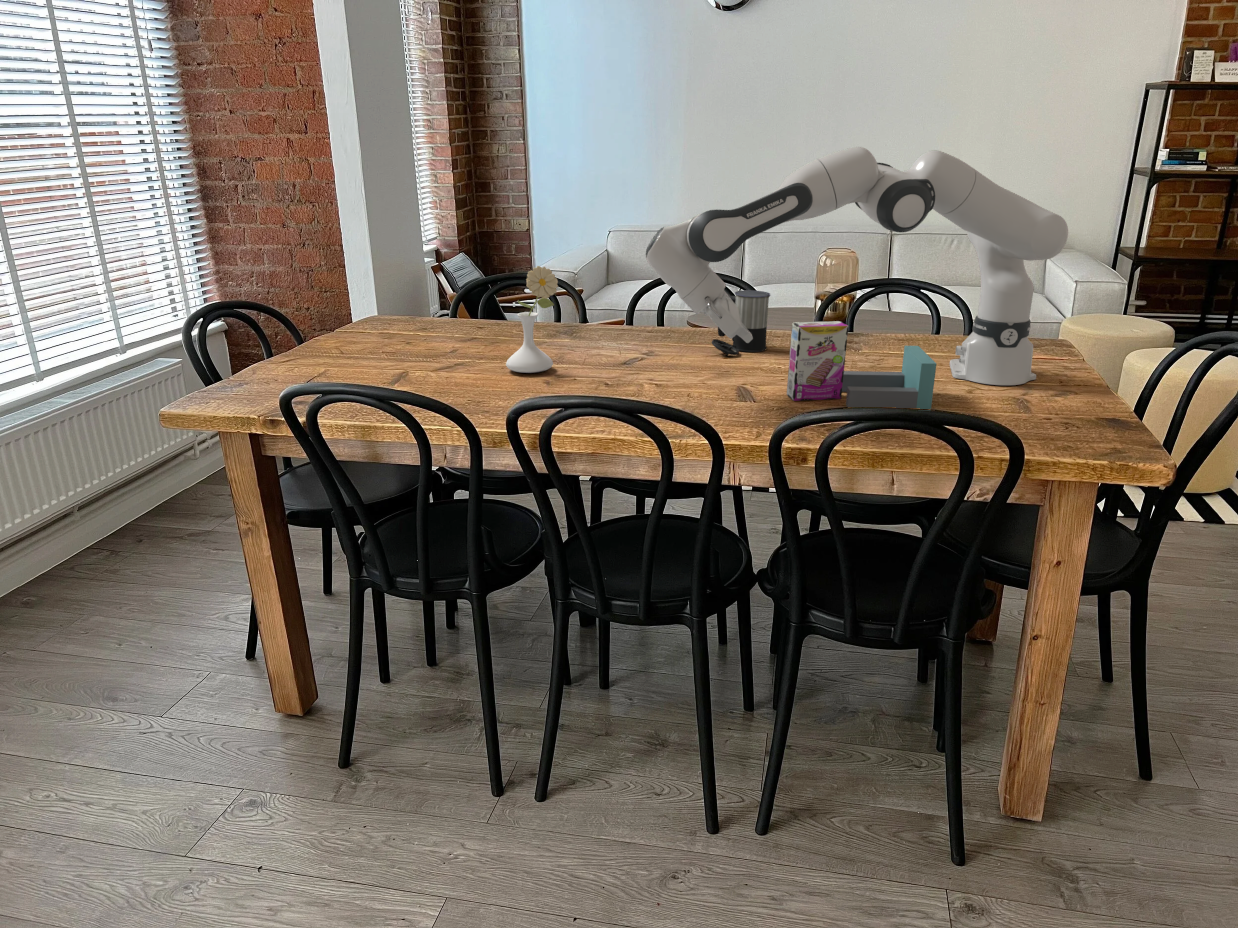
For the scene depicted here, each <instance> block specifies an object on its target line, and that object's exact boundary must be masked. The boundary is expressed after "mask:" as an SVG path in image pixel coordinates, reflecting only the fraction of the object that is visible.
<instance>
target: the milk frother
mask: <svg viewBox="0 0 1238 928" xmlns="http://www.w3.org/2000/svg"><path fill="white" fill-rule="evenodd" d="M734 294H735V295H728V296H729V297H730V298H731V299H732V301H733V302H734V303H735V305H736V306H737V308H738V309H739V313H740V318H741V322H742V323H743V324H744V326H745V327H746V328H747V330H748V331H749V332H750V333H751V334H752V337H753V339H752V340H751V341H750V342H749V343H746V342H745V341H744V340H743V339H742V338H741V337H739V336H738V335H737V334H736V335H735V336H734V337H733V338H731V341H732V344H730V343H728V342H726V341H723V340H720V339H712V341H711V344H712V346H713V347H714V348H715V349H717V350H718V351H721V352H722V353H723V354H725V356H726V357H727V356H729V355H731V356H733V355H734V356H737V355H738V354H739V352H745V353H757V352H758V353H759V352H764V351H766V350H767V328H768V327H767V326H768V318H769V317H768V315H769V314H768V313H769V304H770V303H769V301H770V297H771V293H770V292H768V291H761V290H753V289H752V290H751V289H750V290H749V289H748V290H745V289H743V290H738V291H735V292H734ZM717 335H718V336H719V337H722V338H723V337H725V336H726V335H725V334H724V333H723V332H722V330H721V329H720V328H719V327H718V326H717Z"/></svg>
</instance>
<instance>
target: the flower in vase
mask: <svg viewBox="0 0 1238 928" xmlns="http://www.w3.org/2000/svg"><path fill="white" fill-rule="evenodd" d="M525 280H526V288H528V290H529V292H531V295H533V296H535V297H536V299H535V302H534V303H533V305H532V306H531V304H528V303H524V302H522V301H521V300H519V299H517V303H518V304H519V305H520V306H522V307H525V308H527V309H528V308H529V309H530V310H529V311H524V312H519V313H517V317H518V318H519V319H520V322H521V325H522V329H523V343H522V345H521V346H520V348H518V350H516V351H515V352H514V353H513V354H512V355H511V356H510V357H508V359H507V360H506V363H505V366H506V367H507V369H508V370H510V371H512V372H516V373H523V374H524V373H526V374H532V373H534V374H535V373H541V372H544V371H547V370H549V369H551V368H552V366H553V365H554V362H553V359H552V358H551V356H549V355H548V354H546V353H545V352H544V351H543V350H541V349H540V348H539V347H538V346H537V345H536V344H535V340H534V326H535V321H536V319H537V318H538V316H539V313H538V312H533V310H534V308H535V306H536V304H537V305H538V306H539V307H540V308H542V309H548V308H550V307H552V306H555V304H554V303H553V302H552V301H551V300H550V299H549V298H550V296H553V295H555V294H557V291H558V290H557V288H559V285H558V283H559V281H558V278H557V277H556V275H555V274H554V273H553V271H552V270H551V269H550V268H547V267H546V266H540V265H537V266H536V267H533V268H532V270H530V271H527V274H526V279H525ZM539 298H540V299H539Z"/></svg>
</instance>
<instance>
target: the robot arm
mask: <svg viewBox="0 0 1238 928" xmlns="http://www.w3.org/2000/svg"><path fill="white" fill-rule="evenodd" d="M853 203H854V204H855V205H856V207H858V209H860V210H861V211H863V213H864V214H865V215H866V216H868V217H869V219H870V220H872V221H874V222H876V223H877V224H878V225H881V226H882V227H883V228H884V229H886V230H889V231H891V232H894V233H907V232H911V231H912V230H914V229H916V228H917V227H918V226H919V225H920V224H922V222H923V221H924V220H925V219H926V217H927V216H928V214H929V213H930V212H931V211H932V210H933V211H935V212H936V213H938V214H939V215H941V216H942V217H944V218H945V219H947V220H949V221H950V222H951V223H953V224H954V225H956V226H957V227H959V228H961V229H962V230H964V231H966V234H967V238H968V241H969V242H970V243H971V245H972V246H973V249H974V250H975V252H976V253H975V254H976V258H977V261H978V267H979V273H980V275H979V276H980V290H979V291H980V293H979V301H978V310H977V315H976V316H975V318H974V320H973V324H972V327H971V329H972V332H971V333H970V334H969V335H968V336H967V337H966V338H965V340H964V341H962V343H961V345H956V347H955V356H959V358H954V359H950V361H949V367H950V371H951V375H952V378H955V379H959V380H966V381H971V382H974V383H979V384H985V385H995V386H1016V385H1023V384H1026V383H1027V382H1029V381H1033V380H1034V381H1035V380H1037V374H1036V373H1034V372H1032V364H1033V363H1032V362H1033V356H1034V355H1033V354H1034V344H1033V343H1032V342H1031V341H1030V339H1029V338H1028V337H1029V336H1030V331H1031V327H1032V326H1031V322H1032V321H1031V319H1030V317H1031V316H1030V315H1031V309H1032V303H1033V296H1034V287H1035V286H1034V283H1033V281H1032V280H1031V278H1030V277H1029V275H1028V273H1027V271H1026V267H1025V262H1024V261H1029V262H1031V261H1044V260H1050V259H1052V258H1054V257H1055V258H1056V256H1058V255H1059V254H1060V253H1061V252H1062V250H1063V249H1064V248H1065V246H1066V244H1067V240H1068V237H1069V228H1068V224H1067V221H1066V219H1064V217H1063V216H1061V215H1059V214H1057V213H1055V212H1053V211H1050V210H1048V209H1046V208H1044V207H1042V206H1040V205H1038V204H1036V203H1035V202H1032V201H1030V199H1029V200H1028V199H1027V198H1025V197H1023V196H1021V195H1019V194H1017V193H1015V192H1012V191H1011V190H1008V189H1007V188H1004V187H1002V186H1000V185H999V184H997V183H996V182H993V181H992V180H991V179H989V178H988V177H987V176H985V175H984V174H982V173H981V172H979V171H978V170H976V169H975V168H974V167H972V166H971V165H969V164H968V163H966V162H965V161H963V160H961V159H959V158H957V157H955V156H954V155H951V154H950V153H949V154H948V153H947V152H944V151H941V150H928V151H926V152H924V153H922V154H921V155H920V156H918V157H917V158H916V159H915V161H913V163H912V165H911V167H910V168H908V169H906V170H904V171H901V170H900V169H897V168H895V167H894V166H891V165H890V164H888V163H883V162H877V159H876V158H875V156H874V154H873V153H872V152H871V151H870V150H868V149H867V148H865V147H863V146H854V147H849V148H846V149H841V150H838V151H835V152H834V151H833V152H831V153H829V154H828V153H827V154H826V155H823V156H821V157H818V158H816V159H813V160H811V161H809V162H808V163H805V164H803V165H802V166H800V167H798V168H797V169H795V170H794V171H792V172H790V173H789V174H788V175H786V177H784V180H783V181H782V182H781V184H780V185H779V186H778V187H776V189H775V190H774V191H772V192H771V193H769V194H767V195H764V196H763V197H760V198H757V199H755V200H753V201H751V202H749V203H746V204H744V205H742V206H740V207H737V208H732V209H710V210H707V211H704V212H701V213H699V214H697V215H695V216H693V217H692V218H689V219H686V220H685V221H683V222H680V223H676V224H674V225H669V226H663V227H661V228H660V229H659V230H658V231H657V232H656V234H655V235H654V236H653V237H652V239H651V240H650V242H649V243H648V246H647V247H646V250H645V258H646V261H647V263H648V265H649V266H650V267H651V269H652V270H653V271H654V272H655V274H656V275H657V276H658V277H659V279H661V280H662V281H663V282H664V284H666V285H667V286H669V287H671V288H672V289H673V290H675V292H676V293H677V296H678V297H679V298H680V299H681V300H682V301H683V302H684V303H685V305H687V307H689V309H690V310H691V311H692V312H693V313H694V314H695V315H698V314H700V313H703V314H704V315H705V316H708V317H709V319H711V321H712V322H713V323H714V324H715V326H717V328H718V327H719V328H720V329H721V330H722V332H723V333H724V334H725V336H726V337H728V338H729V339H732V338H733V337H734V336H735V335H736V334H737V335H738V336H739V337H741V338H742V339H743V340H744V341H745V342H746V343H749V342H750V341H751V340H752V339H753V337H752V334H751V333H750V332H749V331H748V330H747V328H746V327H745V326H744V324H743V323H742V322H741V318H740V313H739V309H738V308H737V306H736V305H735V303H734V302H733V301H732V299H731V298H730V297H729V296H730V295H729V294H728V293H727V292H726V290H725V288H726V286H727V285H726V282H724V280H722V278H721V277H720V276H719V275H718V274H717V273H716V272H715V271H713V269H712V268H711V267H710V266H709V265H710V263H719V262H722V261H724V260H726V259H728V258H729V257H731V256H732V255H733V254H734V253H735V252H736V251H737V250H738V249H739V248H740V247H741V246H742V245H743V243H744V242H746V241H747V240H749V239H751V238H752V237H755V236H757V235H759V234H761V233H764V232H766V231H768V230H770V229H772V228H775V227H777V226H780V225H782V224H783V223H787V222H792V221H804V220H809V219H813V218H817V217H820V216H823V215H826V214H829V213H832V212H834V211H836V210H838V209H840V208H842V207H844V206H846V205H849V204H853Z"/></svg>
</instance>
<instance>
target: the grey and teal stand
mask: <svg viewBox="0 0 1238 928" xmlns="http://www.w3.org/2000/svg"><path fill="white" fill-rule="evenodd" d="M903 348H904V349H903V357H902V366H901V367H902V368H901V371H872V370H871V371H867V370H864V371H863V370H862V371H861V370H857V371H856V370H844V375H843V385H842V393H845V392H846V399H845V407H896V408H920V409H931V410H932V403H933V398H934V397H933V395H934V389H935V387H934V385H935V379H936V371H937V362H935V361H934V359H933V358H931V356H929V355H928V354H927V352H925V350H923V349H922V348H921V347H920V346H919V345H904V347H903Z"/></svg>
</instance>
